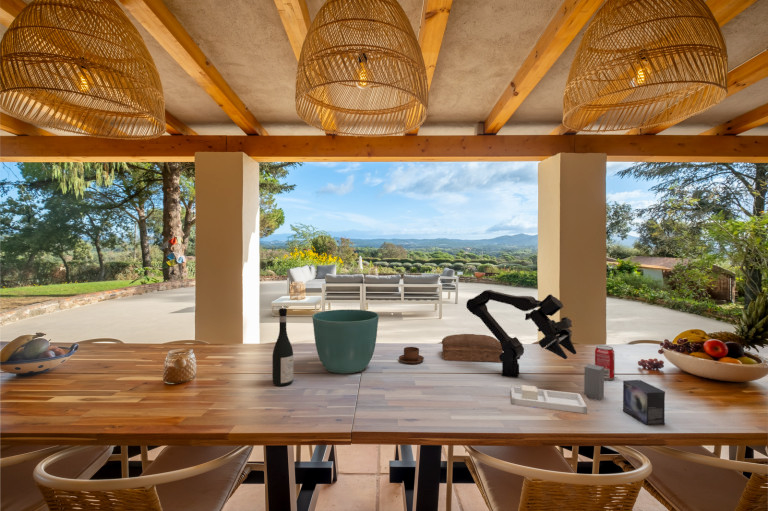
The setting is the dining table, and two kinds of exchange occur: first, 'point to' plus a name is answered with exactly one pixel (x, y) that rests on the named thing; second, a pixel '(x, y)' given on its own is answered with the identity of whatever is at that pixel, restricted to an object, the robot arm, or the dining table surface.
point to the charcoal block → (594, 382)
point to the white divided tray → (551, 400)
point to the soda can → (605, 360)
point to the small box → (644, 402)
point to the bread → (471, 348)
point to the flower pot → (345, 339)
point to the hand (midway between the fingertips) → (571, 356)
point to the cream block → (529, 392)
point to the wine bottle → (282, 355)
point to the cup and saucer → (411, 355)
